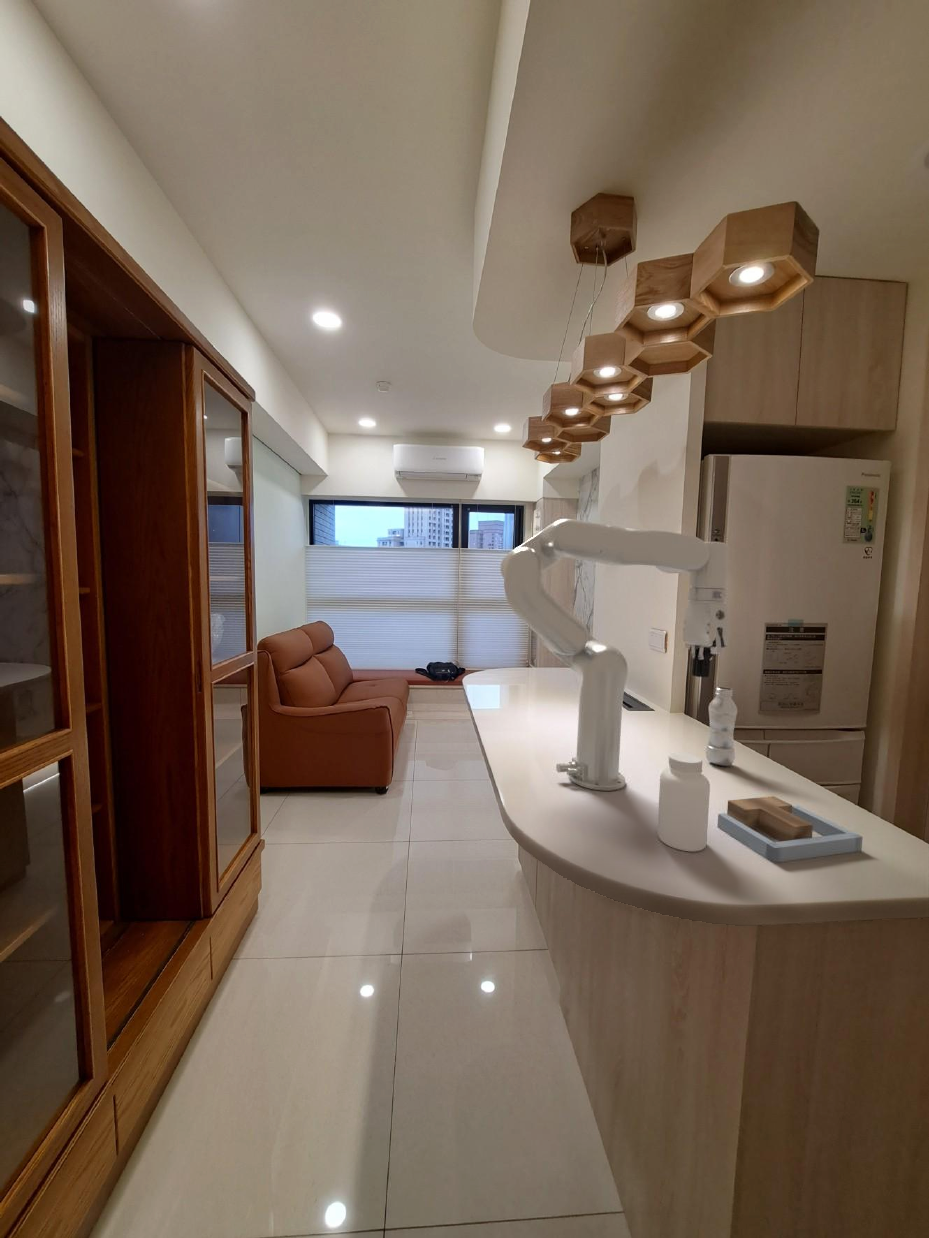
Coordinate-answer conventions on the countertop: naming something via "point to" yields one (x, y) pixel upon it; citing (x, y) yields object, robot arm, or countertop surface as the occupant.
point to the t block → (770, 817)
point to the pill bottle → (683, 803)
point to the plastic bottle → (721, 728)
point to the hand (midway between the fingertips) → (700, 676)
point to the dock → (829, 844)
